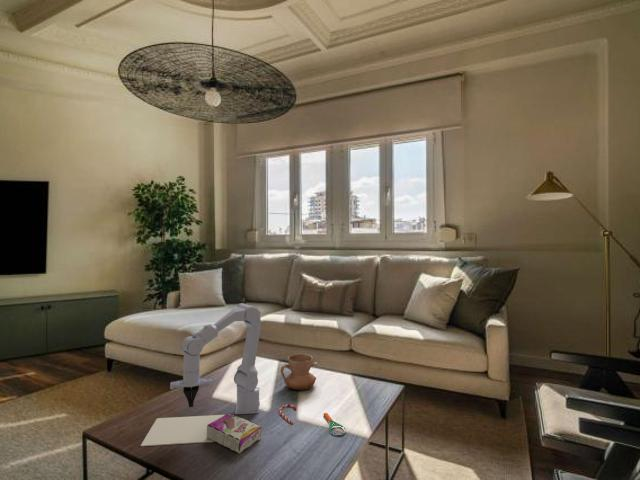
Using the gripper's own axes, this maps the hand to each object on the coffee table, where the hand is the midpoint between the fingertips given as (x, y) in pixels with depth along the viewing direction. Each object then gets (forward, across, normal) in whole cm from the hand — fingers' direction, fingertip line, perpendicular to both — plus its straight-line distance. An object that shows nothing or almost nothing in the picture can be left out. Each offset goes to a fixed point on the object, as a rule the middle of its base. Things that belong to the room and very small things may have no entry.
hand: (191, 405), depth 132 cm
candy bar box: (+7, -10, +3) cm, 12 cm away
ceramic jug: (+10, -46, -29) cm, 56 cm away
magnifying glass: (+10, -53, +8) cm, 54 cm away
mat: (+9, +2, -1) cm, 10 cm away
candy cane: (+10, -38, -4) cm, 39 cm away
